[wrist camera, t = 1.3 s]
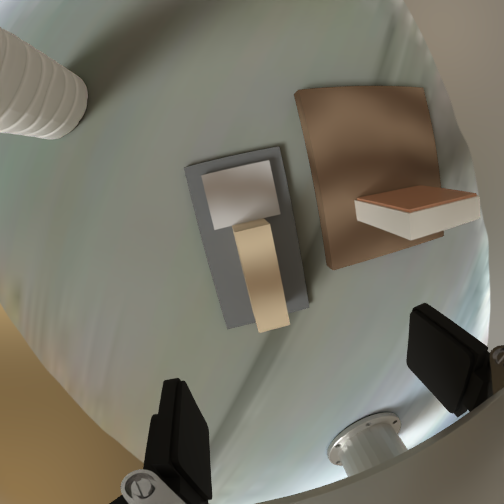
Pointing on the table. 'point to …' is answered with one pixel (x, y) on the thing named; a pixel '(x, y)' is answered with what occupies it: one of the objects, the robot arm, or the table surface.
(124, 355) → the table surface
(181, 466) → the robot arm
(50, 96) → the water bottle
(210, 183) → the turner
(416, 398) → the table surface
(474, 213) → the tile
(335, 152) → the board
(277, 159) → the mat
